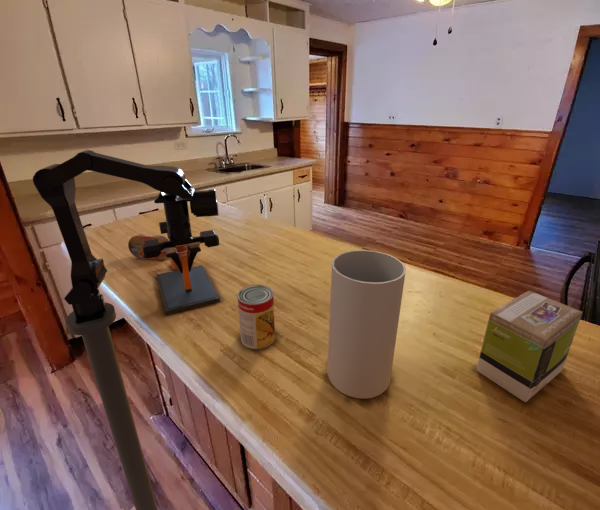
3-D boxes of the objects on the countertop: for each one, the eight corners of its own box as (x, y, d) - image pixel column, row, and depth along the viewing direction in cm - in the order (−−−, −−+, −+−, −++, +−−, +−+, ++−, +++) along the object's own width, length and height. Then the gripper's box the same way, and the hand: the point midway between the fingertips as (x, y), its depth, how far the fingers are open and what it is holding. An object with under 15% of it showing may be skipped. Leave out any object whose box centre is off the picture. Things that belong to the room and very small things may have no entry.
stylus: (185, 292, 93) (180, 257, 89) (184, 290, 94) (179, 254, 90) (191, 291, 94) (186, 256, 89) (190, 288, 95) (185, 253, 91)
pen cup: (173, 271, 108) (170, 254, 106) (170, 263, 113) (167, 247, 111) (192, 267, 111) (190, 251, 108) (189, 260, 116) (186, 244, 113)
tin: (130, 257, 117) (125, 235, 114) (135, 254, 120) (131, 232, 117) (170, 261, 115) (166, 238, 112) (174, 257, 118) (171, 235, 115)
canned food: (280, 332, 80) (279, 289, 75) (264, 353, 74) (262, 307, 69) (252, 323, 83) (249, 281, 78) (234, 343, 76) (230, 298, 72)
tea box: (512, 344, 76) (529, 288, 71) (562, 372, 69) (587, 311, 63) (473, 370, 69) (489, 310, 63) (525, 405, 61) (549, 340, 55)
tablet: (166, 315, 86) (165, 311, 86) (157, 277, 104) (156, 274, 104) (220, 301, 92) (219, 297, 92) (202, 268, 110) (202, 264, 110)
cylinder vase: (327, 399, 62) (333, 282, 53) (326, 352, 74) (330, 249, 64) (396, 402, 62) (414, 284, 52) (383, 354, 73) (396, 250, 63)
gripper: (207, 204, 96) (212, 254, 102) (136, 214, 88) (146, 266, 94) (217, 216, 87) (222, 269, 93) (138, 227, 79) (149, 284, 85)
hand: (185, 271), depth 92 cm, fingers closed on stylus, 1 cm apart
